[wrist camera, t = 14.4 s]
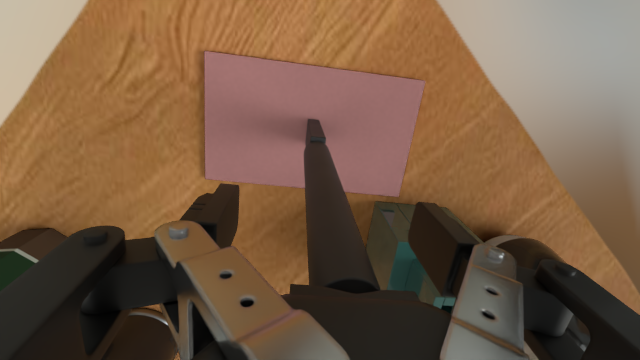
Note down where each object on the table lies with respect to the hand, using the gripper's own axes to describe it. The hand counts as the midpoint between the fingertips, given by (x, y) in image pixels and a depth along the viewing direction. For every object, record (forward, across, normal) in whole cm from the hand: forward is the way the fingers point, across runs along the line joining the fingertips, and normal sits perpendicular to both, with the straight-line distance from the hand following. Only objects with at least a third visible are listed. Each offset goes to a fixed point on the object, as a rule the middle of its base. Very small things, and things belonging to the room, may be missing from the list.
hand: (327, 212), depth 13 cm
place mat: (+20, 0, 0) cm, 20 cm away
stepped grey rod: (+19, 0, 0) cm, 19 cm away
